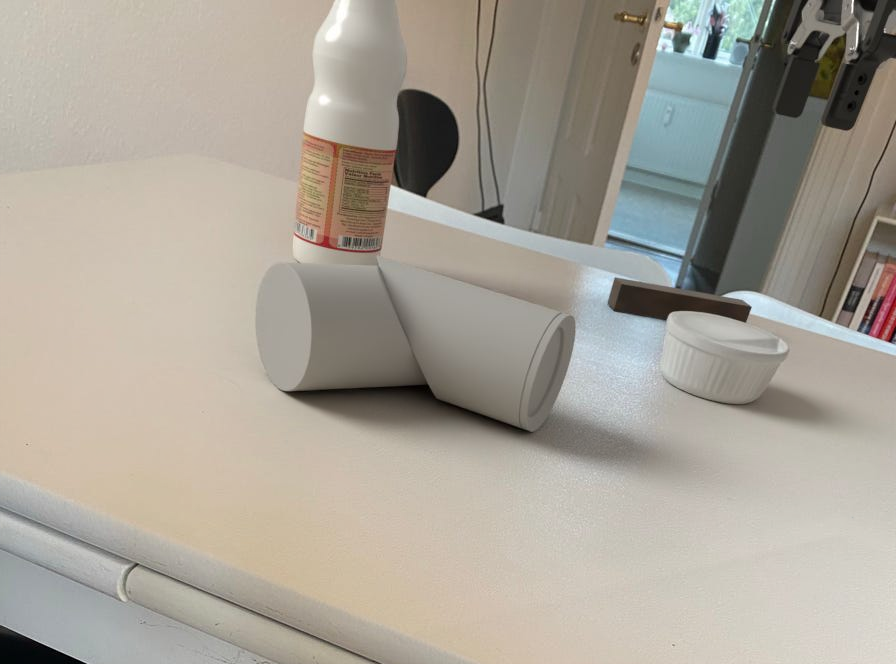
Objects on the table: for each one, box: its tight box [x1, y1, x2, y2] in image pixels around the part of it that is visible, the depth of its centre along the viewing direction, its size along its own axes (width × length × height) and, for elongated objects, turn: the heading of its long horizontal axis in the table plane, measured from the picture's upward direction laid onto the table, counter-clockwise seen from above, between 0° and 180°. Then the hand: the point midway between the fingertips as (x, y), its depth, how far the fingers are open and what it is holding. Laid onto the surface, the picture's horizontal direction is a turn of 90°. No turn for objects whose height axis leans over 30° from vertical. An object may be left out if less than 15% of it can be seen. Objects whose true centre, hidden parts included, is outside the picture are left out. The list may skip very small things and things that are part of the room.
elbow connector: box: [254, 255, 576, 433], centre depth 65 cm, size 18×11×20 cm
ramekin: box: [659, 311, 790, 405], centre depth 83 cm, size 11×11×5 cm
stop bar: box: [606, 277, 752, 323], centre depth 105 cm, size 16×3×3 cm, turn 94°
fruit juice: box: [292, 0, 408, 266], centre depth 90 cm, size 9×9×28 cm
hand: (808, 121), depth 67 cm, fingers open, 8 cm apart
